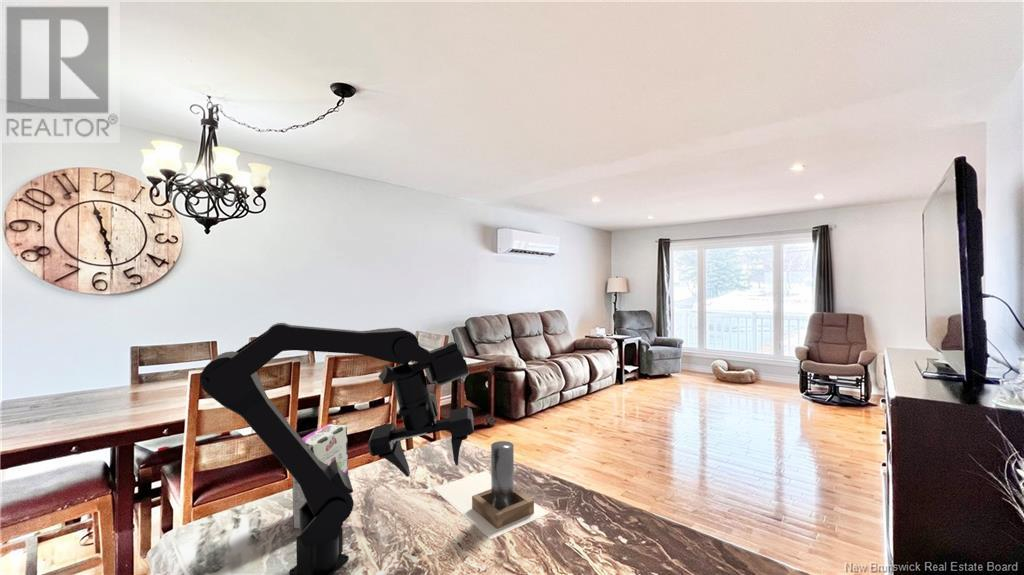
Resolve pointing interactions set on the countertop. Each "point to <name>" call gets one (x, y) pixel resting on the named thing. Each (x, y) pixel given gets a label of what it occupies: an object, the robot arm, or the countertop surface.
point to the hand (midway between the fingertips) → (432, 469)
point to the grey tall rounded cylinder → (502, 474)
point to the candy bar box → (322, 457)
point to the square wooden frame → (504, 516)
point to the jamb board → (461, 500)
